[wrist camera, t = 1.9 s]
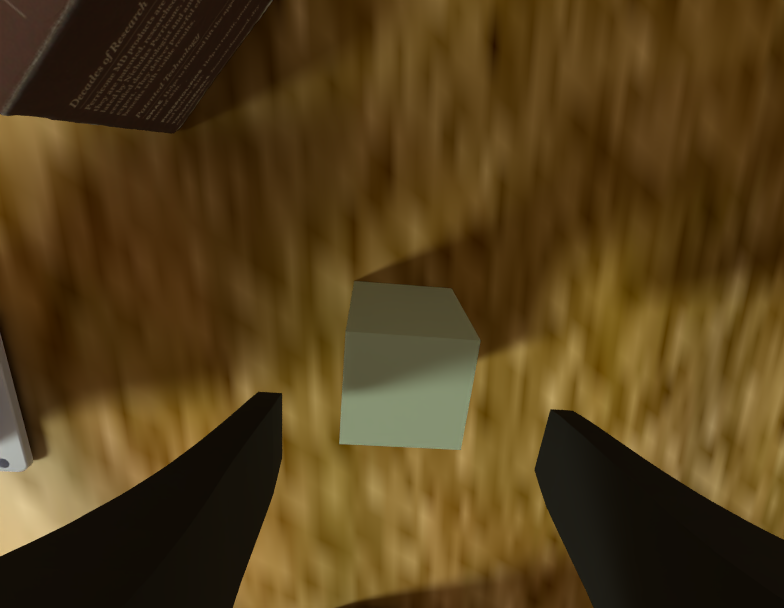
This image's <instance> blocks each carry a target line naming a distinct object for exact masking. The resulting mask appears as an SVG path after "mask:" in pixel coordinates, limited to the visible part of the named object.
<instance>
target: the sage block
mask: <svg viewBox="0 0 784 608" xmlns="http://www.w3.org/2000/svg"><path fill="white" fill-rule="evenodd" d="M480 342H481V340H480V338H479V337H478V335H477V333H476V331H475V329H474V328H473V326H472V324H471V322H470V320H469V319H468V317H467V315H466V313H465V311H464V310H463V308H462V306H461V304H460V303H459V301H458V299H457V297H456V295H455V294H454V292H453V290H452V288H440V287H427V286H414V285H401V284H387V283H374V282H361V281H354V285H353V291H352V297H351V303H350V309H349V315H348V321H347V327H346V335H345V353H344V371H343V388H342V406H341V423H340V441H339V444H353V445H374V446H394V447H414V448H434V449H455V450H461V445H462V440H463V434H464V429H465V424H466V418H467V413H468V407H469V402H470V396H471V391H472V385H473V380H474V374H475V369H476V364H477V358H478V353H479V347H480Z"/></svg>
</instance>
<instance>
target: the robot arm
mask: <svg viewBox="0 0 784 608" xmlns="http://www.w3.org/2000/svg"><path fill="white" fill-rule="evenodd" d="M281 460H282V393H269V392H258V393H256V394H255V395H254V396H253V397H252V398H250V399H249V400H248V401H247V402H246V403H245V404H243V405H242V406H241V407H240V408H239V409H238V410H237V411H235V412H234V413H233V414H232V415H231V416H230V417H228V418H227V419H226V420H225V421H224V422H223V423H221V424H220V425H219V426H218V427H217V428H215V429H214V430H213V431H212V432H210V433H209V434H208V435H207V436H206V437H204V438H203V439H202V440H201V441H199V442H198V443H197V444H195V445H194V446H193V447H191V448H190V449H189V450H187V451H186V452H185V453H183V454H182V455H181V456H179V457H178V458H177V459H175V460H174V461H173V462H171V463H170V464H168V465H167V466H166V467H164V468H163V469H161V470H160V471H158V472H157V473H155V474H154V475H152V476H151V477H149V478H147V479H146V480H144V481H143V482H141V483H139V484H138V485H136V486H135V487H133V488H132V489H130V490H128V491H127V492H125V493H123V494H122V495H120V496H118V497H116V498H115V499H113V500H111V501H109V502H107V503H105V504H104V505H102V506H100V507H98V508H96V509H95V510H93V511H91V512H89V513H87V514H85V515H84V516H82V517H80V518H78V519H76V520H75V521H73V522H71V523H69V524H67V525H65V526H63V527H61V528H59V529H57V530H55V531H53V532H51V533H49V534H47V535H45V536H43V537H41V538H39V539H37V540H35V541H33V542H31V543H28V544H26V545H24V546H22V547H20V548H18V549H15V550H13V551H11V552H9V553H7V554H5V555H3V556H0V608H233V605H234V602H235V599H236V596H237V593H238V590H239V587H240V584H241V581H242V578H243V575H244V573H245V570H246V567H247V565H248V562H249V559H250V556H251V554H252V551H253V548H254V546H255V543H256V540H257V537H258V535H259V532H260V529H261V527H262V524H263V521H264V518H265V516H266V513H267V510H268V507H269V505H270V502H271V499H272V496H273V493H274V489H275V485H276V481H277V477H278V473H279V468H280V464H281ZM32 463H33V457H32V453H31V449H30V445H29V441H28V437H27V434H26V430H25V426H24V422H23V418H22V414H21V411H20V407H19V403H18V399H17V395H16V391H15V388H14V384H13V380H12V376H11V372H10V368H9V365H8V361H7V357H6V353H5V349H4V345H3V342H2V338H1V334H0V471H12V472H21V471H24V470H26V469H27V468H28V467H29V466H30V465H31V464H32ZM535 473H536V476H537V479H538V483H539V486H540V489H541V492H542V495H543V498H544V501H545V504H546V507H547V509H548V511H549V513H550V516H551V518H552V520H553V522H554V524H555V526H556V528H557V531H558V533H559V535H560V537H561V539H562V541H563V543H564V545H565V547H566V549H567V552H568V554H569V556H570V558H571V560H572V562H573V564H574V566H575V568H576V570H577V572H578V575H579V577H580V579H581V581H582V583H583V585H584V587H585V589H586V591H587V593H588V596H589V598H590V600H591V603H592V605H593V607H594V608H784V540H783V539H781V538H779V537H777V536H775V535H773V534H771V533H769V532H767V531H765V530H763V529H761V528H759V527H757V526H755V525H754V524H752V523H750V522H748V521H746V520H744V519H742V518H741V517H739V516H737V515H735V514H733V513H732V512H730V511H728V510H726V509H724V508H723V507H721V506H719V505H717V504H716V503H714V502H712V501H710V500H709V499H707V498H705V497H704V496H702V495H700V494H698V493H697V492H695V491H693V490H692V489H690V488H689V487H687V486H686V485H684V484H682V483H681V482H679V481H678V480H676V479H674V478H673V477H671V476H670V475H668V474H666V473H665V472H663V471H662V470H660V469H659V468H657V467H656V466H654V465H653V464H651V463H650V462H648V461H647V460H645V459H644V458H642V457H641V456H639V455H638V454H637V453H635V452H634V451H632V450H631V449H629V448H628V447H626V446H625V445H624V444H622V443H621V442H619V441H618V440H616V439H615V438H613V437H612V436H611V435H609V434H608V433H606V432H605V431H603V430H602V429H600V428H599V427H597V426H596V425H595V424H593V423H592V422H590V421H589V420H587V419H585V418H584V417H582V416H581V415H579V414H577V413H576V412H574V411H569V410H552V409H551V410H550V413H549V417H548V421H547V425H546V428H545V432H544V436H543V440H542V443H541V447H540V451H539V455H538V458H537V462H536V466H535Z"/></svg>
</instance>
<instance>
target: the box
mask: <svg viewBox="0 0 784 608" xmlns="http://www.w3.org/2000/svg"><path fill="white" fill-rule="evenodd" d="M272 1H273V0H0V114H1V115H5V116H12V115H21V116H35V117H43V118H48V119H51V120H61V121H69V122H75V123H86V124H92V125H104V126H109V127H119V128H126V129H137V130H146V131H155V132H164V133H175V132H176V131H177V130H178V129H179V128H180V127H181V126H182V124H183V123H184V122H185V121H186V119H187V118H188V116H189V115H190V114H191V112H192V111H193V109H194V108H195V106H196V105H197V104H198V102H199V101H200V99H201V98H202V96H203V95H204V93H205V91H206V90H207V89H208V88H209V86H210V85H211V84H212V82H213V81H214V79H215V77H216V76H217V75H218V74H219V73H220V71H221V70H222V68H223V67H224V65H225V64H226V63H227V62H228V60H229V59H230V58H231V56H232V55H233V53H234V52H235V51H236V49H237V48H238V46H239V45H240V44H241V43H242V42H243V40H244V39H245V37H246V36H247V35H248V34H249V32H250V31H251V30H252V28H253V26H254V25H255V23H256V22H258V20H259V19H260V18H261V17H262V15H263V13H264V12H265V11H266V10H267V8H268V6H269V5H270V4H271V2H272Z"/></svg>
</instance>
